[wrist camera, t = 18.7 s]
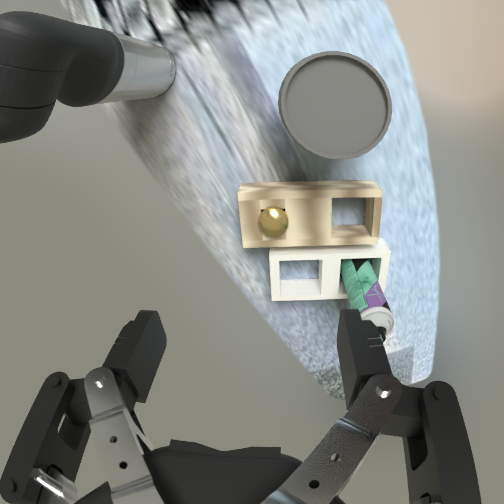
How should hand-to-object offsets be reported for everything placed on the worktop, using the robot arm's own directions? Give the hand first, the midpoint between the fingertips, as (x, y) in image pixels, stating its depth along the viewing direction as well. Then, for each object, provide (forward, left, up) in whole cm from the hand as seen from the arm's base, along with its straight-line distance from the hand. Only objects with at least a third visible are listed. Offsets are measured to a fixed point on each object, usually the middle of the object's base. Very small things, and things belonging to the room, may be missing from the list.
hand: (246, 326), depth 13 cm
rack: (+9, -19, -38) cm, 43 cm away
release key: (0, -9, -37) cm, 38 cm away
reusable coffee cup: (+8, +8, -38) cm, 40 cm away
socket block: (+6, -9, -38) cm, 39 cm away
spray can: (+14, -19, -38) cm, 45 cm away
